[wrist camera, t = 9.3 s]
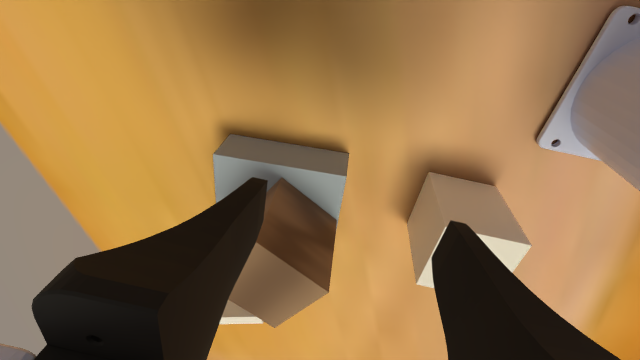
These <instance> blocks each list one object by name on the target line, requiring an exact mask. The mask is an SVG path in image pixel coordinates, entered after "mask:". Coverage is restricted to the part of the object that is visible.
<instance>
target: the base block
mask: <svg viewBox="0 0 640 360" xmlns="http://www.w3.org/2000/svg"><path fill="white" fill-rule="evenodd" d="M348 158H349V153H343V152H337V151H331V150H325V149H319V148H313V147H307V146H301V145H294V144H288V143H282V142H276V141H270V140H264V139H258V138H252V137H246V136H240V135H234V134H230V135H229V136H228V137H227V138H226V140H225V141H224V142H223V143H222V144H221V145H220V147H219V148H218V149H217V150H216V151H215V152H214V154H213V162H214V178H215V194H216V203H217V202H219V201H220V200H222V199H223V198H225V197H226V196H227V195H229V194H230V193H232V192H233V191H234V190H236V189H237V188H238V187H240V186H241V185H242V184H243V183H245V182H246V181H247V180H249V179H250V178H252V177H255V178H260V179H264V180H268V183H267V191H268V190H269V189H270V188H271V187H272V186H273V185H274V184H275V183H276V182H277V181H278V180H279V179H280V178H281V177H282V178H284V179H285V180H286V181H287V182H289V183H290V184H291V185H293V186H294V187H295V188H296V189H298V190H299V191H300V192H302V193H303V194H304V195H305V196H307V197H308V198H309V199H311V200H312V201H313V202H314V203H316V204H317V205H318V206H319V207H321V208H322V209H323V210H325V211H326V212H327V213H328V214H330V215H331V216H332V217H334V218H335V219H336V220H337V223H338V218H339V213H340V208H341V203H342V197H343V192H344V187H345V182H346V177H347V168H348ZM336 229H337V225H336Z"/></svg>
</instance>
